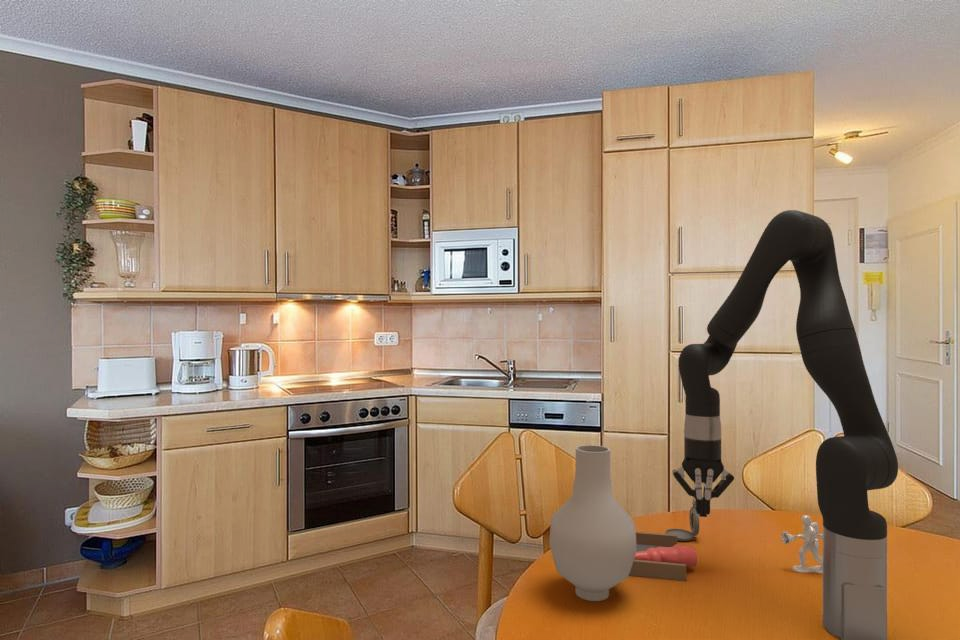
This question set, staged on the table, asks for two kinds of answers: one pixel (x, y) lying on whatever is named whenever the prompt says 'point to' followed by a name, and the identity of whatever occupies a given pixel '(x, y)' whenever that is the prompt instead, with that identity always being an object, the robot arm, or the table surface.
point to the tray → (654, 567)
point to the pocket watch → (694, 525)
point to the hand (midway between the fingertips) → (702, 515)
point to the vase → (592, 529)
